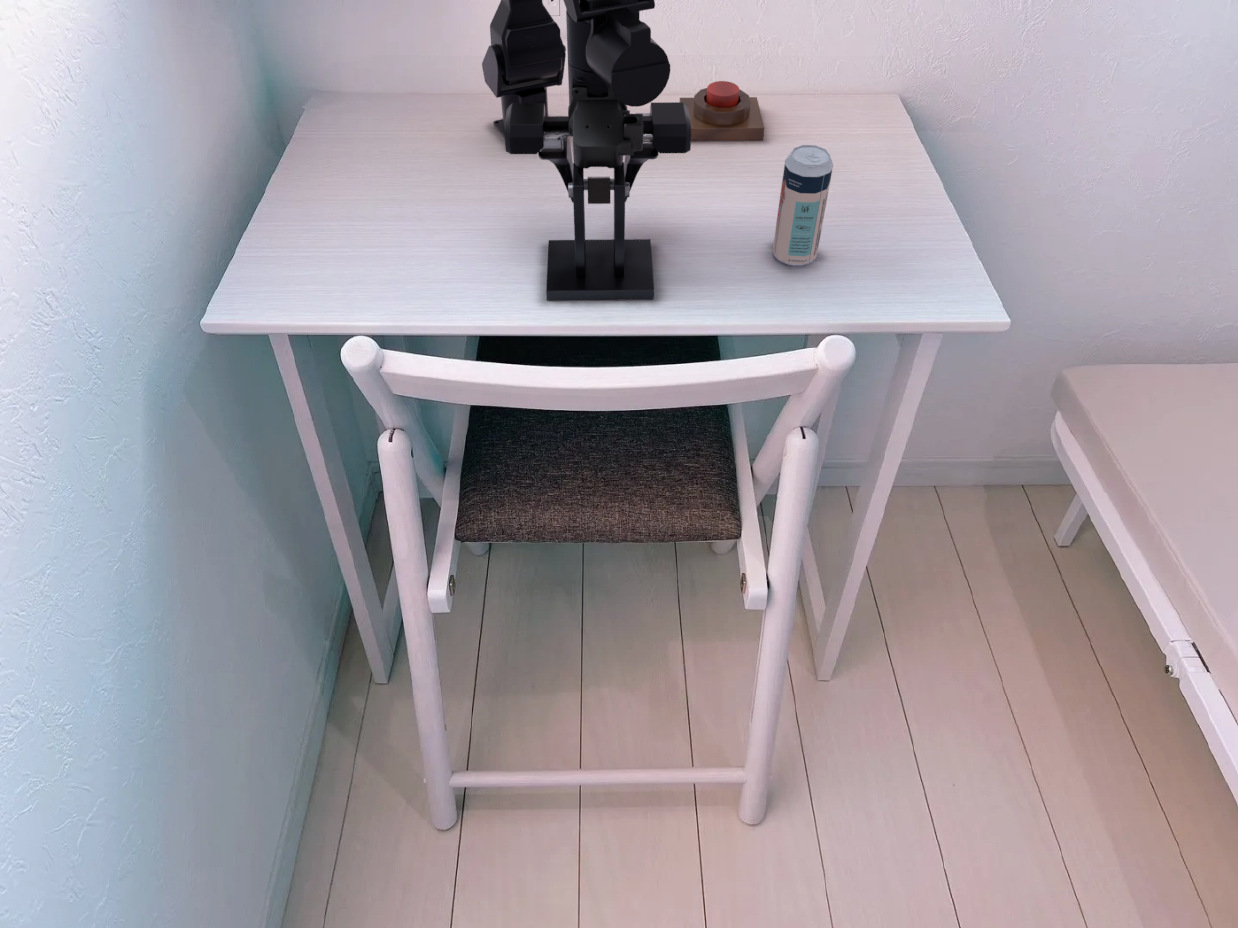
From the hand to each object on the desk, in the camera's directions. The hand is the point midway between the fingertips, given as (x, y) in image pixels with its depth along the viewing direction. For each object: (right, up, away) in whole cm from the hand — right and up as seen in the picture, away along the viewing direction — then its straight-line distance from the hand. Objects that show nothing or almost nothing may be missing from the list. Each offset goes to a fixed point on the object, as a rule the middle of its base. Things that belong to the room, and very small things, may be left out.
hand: (598, 200), depth 106 cm
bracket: (0, -8, -3) cm, 9 cm away
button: (+15, +17, +17) cm, 28 cm away
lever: (0, -1, -6) cm, 6 cm away
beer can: (+21, -6, 0) cm, 22 cm away
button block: (+15, +15, +19) cm, 28 cm away
